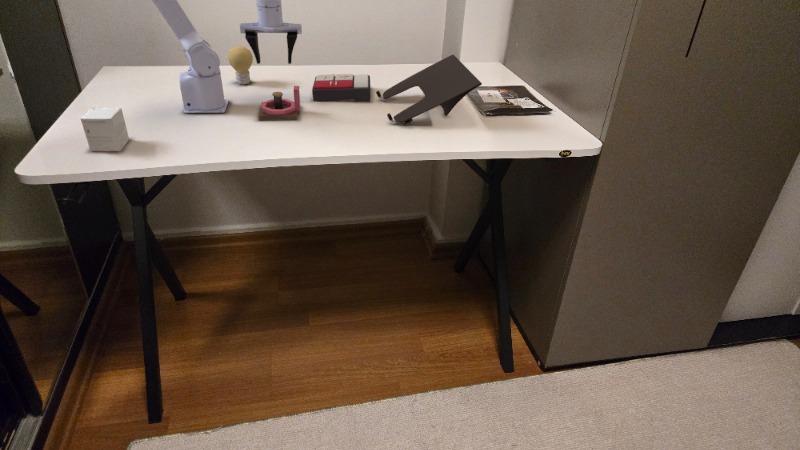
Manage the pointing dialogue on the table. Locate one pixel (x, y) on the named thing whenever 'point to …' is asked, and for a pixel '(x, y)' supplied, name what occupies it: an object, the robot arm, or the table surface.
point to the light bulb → (241, 63)
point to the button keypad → (342, 87)
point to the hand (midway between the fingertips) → (274, 62)
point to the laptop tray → (434, 88)
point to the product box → (105, 129)
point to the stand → (278, 105)
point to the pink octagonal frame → (294, 104)
